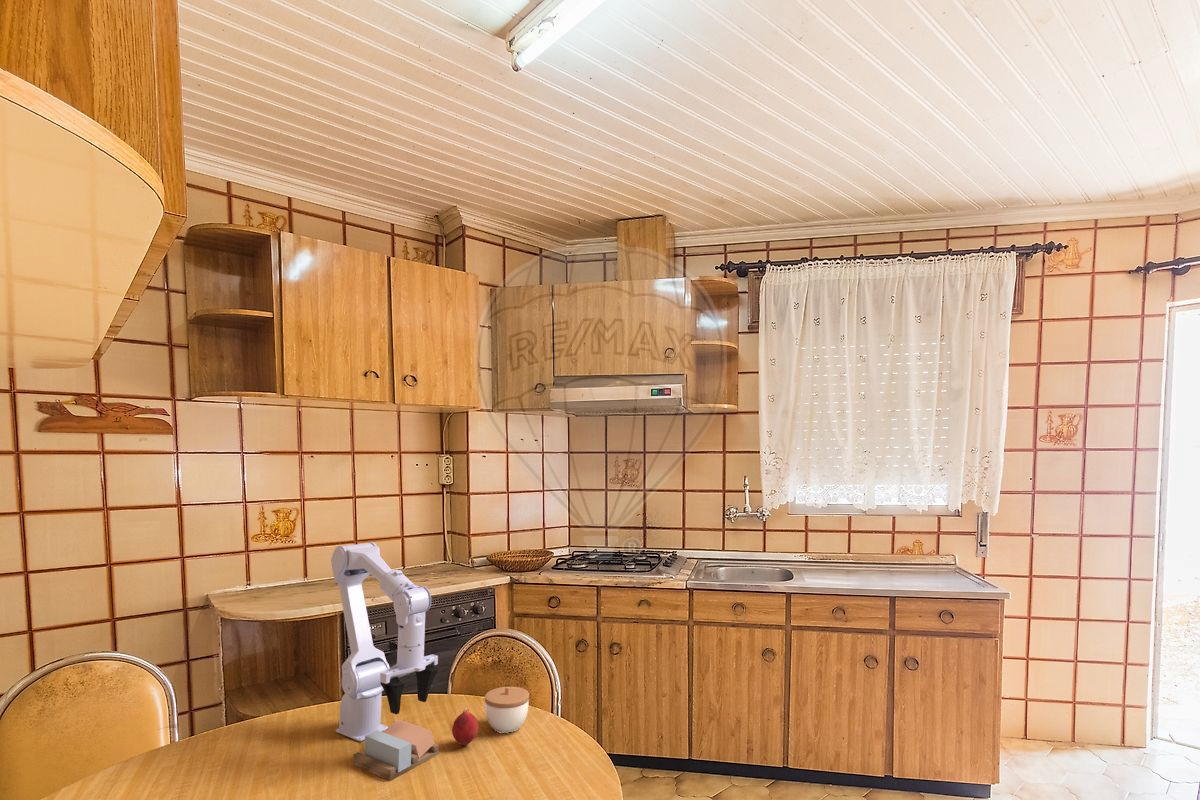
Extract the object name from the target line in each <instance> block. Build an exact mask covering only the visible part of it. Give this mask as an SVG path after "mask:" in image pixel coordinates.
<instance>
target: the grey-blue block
mask: <svg viewBox="0 0 1200 800" xmlns="http://www.w3.org/2000/svg"><path fill="white" fill-rule="evenodd" d="M383 732H384V731H383ZM383 732H381V731H378V730H377V731H375V732H372V733H370V734H368V735H366V736H365V740H364V745H363V746H364V748H363V749H364V751H363V754H364V755H367V756H369V757H371V758H374V759H376V760H378V761H381V762H383V763H386V764H388V765H390V766H393V767H395V768H396V772H400V771H402V770H404V769H406V768H407V767H409V766H411V745H412V743H410V742H407V741H405V740H402V739H399V738H397V737H394V736H391V735H389V734H386V733H383Z"/></svg>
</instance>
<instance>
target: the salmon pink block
mask: <svg viewBox="0 0 1200 800" xmlns="http://www.w3.org/2000/svg"><path fill="white" fill-rule="evenodd" d="M383 733H386V734H389V735H391V736H394V737H397V738H399V739H402V740H405V741H407V742H410V743H412V745H411V753H412V754H415V755H417V756H418V758H420V757H421V756H422V755H423V754H424V753H425V752H426V751H427V750H428V749H429V748H430V747H431V746H432V745H433V744H434V743H435V739H434V736H433V732H432V730H430V729H427V728H424V727H422V726H419V725H416V724H413V723H410V722H407V721H405V720H401V719H399V718H398V719H396V720H395V721H394V722H393V723H392V724H390V726H388V728H387V729H386V730H385V731H383Z"/></svg>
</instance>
